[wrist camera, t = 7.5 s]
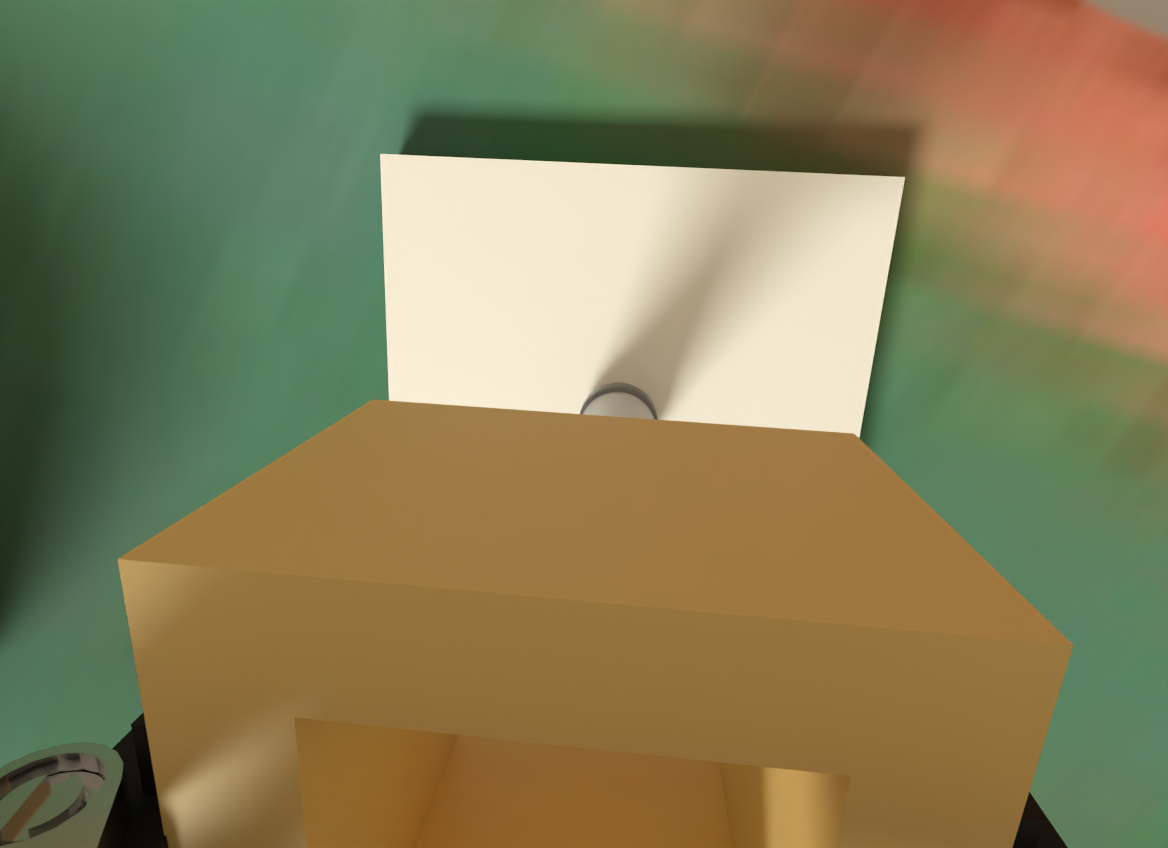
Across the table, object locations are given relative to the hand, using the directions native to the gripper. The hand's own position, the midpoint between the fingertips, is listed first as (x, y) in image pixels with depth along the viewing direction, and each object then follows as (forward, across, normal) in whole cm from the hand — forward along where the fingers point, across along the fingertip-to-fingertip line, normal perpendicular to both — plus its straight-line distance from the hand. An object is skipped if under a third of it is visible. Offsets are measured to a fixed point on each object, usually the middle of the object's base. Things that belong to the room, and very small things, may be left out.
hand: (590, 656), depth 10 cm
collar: (+1, 0, 0) cm, 1 cm away
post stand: (+15, 0, 0) cm, 15 cm away
